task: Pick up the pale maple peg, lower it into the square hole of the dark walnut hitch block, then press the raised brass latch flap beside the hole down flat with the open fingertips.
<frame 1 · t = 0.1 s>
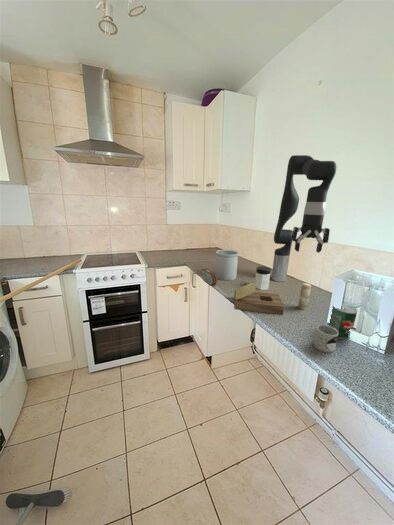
hand: (307, 251, 94), 29 cm above the countertop, fingers open, 8 cm apart
jar: (261, 287, 130), on the countertop
brown oval frame: (208, 283, 134), on the countertop
hitch block: (256, 305, 107), on the countertop
canned tomato: (338, 333, 86), on the countertop
mug: (326, 345, 78), on the countertop
peg: (302, 307, 106), on the countertop
latch flap: (245, 290, 106), point 7 cm above the countertop, hinge at 30.0°
utensil holder: (225, 277, 146), on the countertop
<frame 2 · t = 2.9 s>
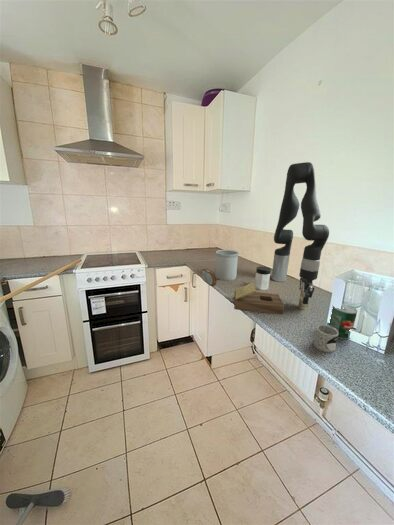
hand: (303, 301, 105), 3 cm above the countertop, fingers closed on peg, 4 cm apart
peg: (302, 307, 106), on the countertop, touching gripper
everything else where it was.
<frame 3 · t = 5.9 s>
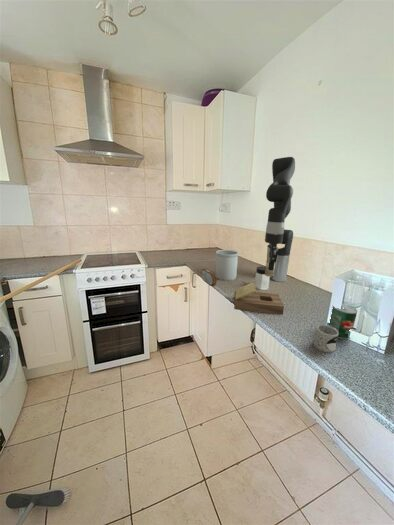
hand: (270, 268, 101), 19 cm above the countertop, fingers closed on peg, 4 cm apart
peg: (269, 275, 102), point 16 cm above the countertop, touching gripper
everything else where it was.
when the fingers open (6 cm above the countertop, at t = 8.8 s): peg drops 2 cm, resting in hitch block.
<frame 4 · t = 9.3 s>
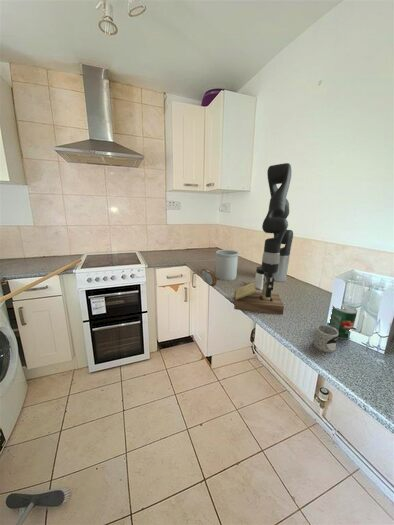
hand: (266, 293, 105), 7 cm above the countertop, fingers open, 8 cm apart
peg: (265, 305, 107), resting in hitch block
everything else where it was.
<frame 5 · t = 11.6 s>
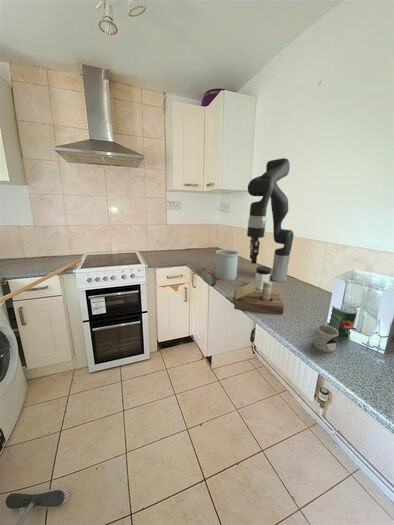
hand: (252, 261, 102), 22 cm above the countertop, fingers open, 8 cm apart
nothing on the countertop moved.
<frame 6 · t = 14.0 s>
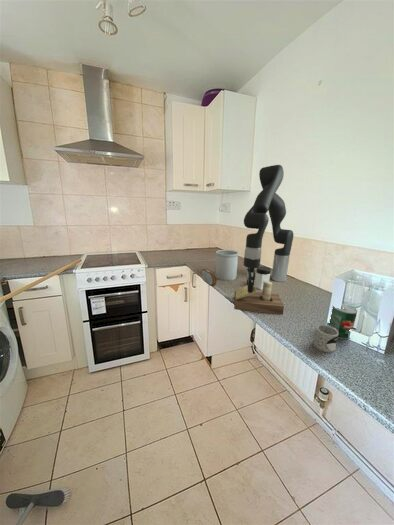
hand: (249, 288, 106), 8 cm above the countertop
latch flap: (245, 291, 106), point 7 cm above the countertop, hinge at 28.3°, touching gripper
everything else where it was.
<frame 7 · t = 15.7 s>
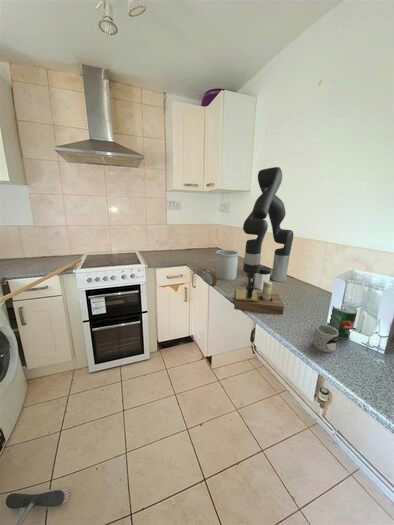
hand: (248, 293, 106), 6 cm above the countertop, fingers open, 8 cm apart
latch flap: (246, 295, 107), point 5 cm above the countertop, hinge at 3.2°
everything else where it was.
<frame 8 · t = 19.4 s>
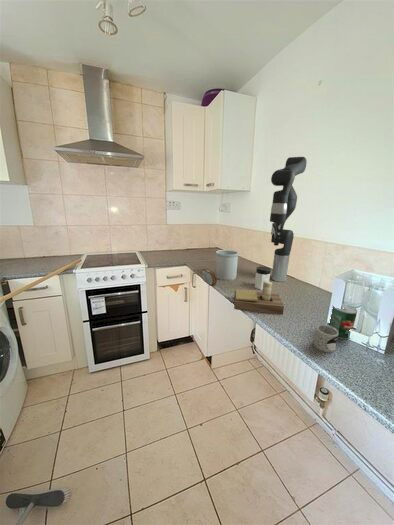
hand: (274, 243, 115), 28 cm above the countertop, fingers open, 8 cm apart
nothing on the countertop moved.
at the end: peg 0.0 cm from the target spot on the hitch block, point 0.0 cm above the hitch block's base; peg tilted 0°; latch flap at +3° (first picture: +30°) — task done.
